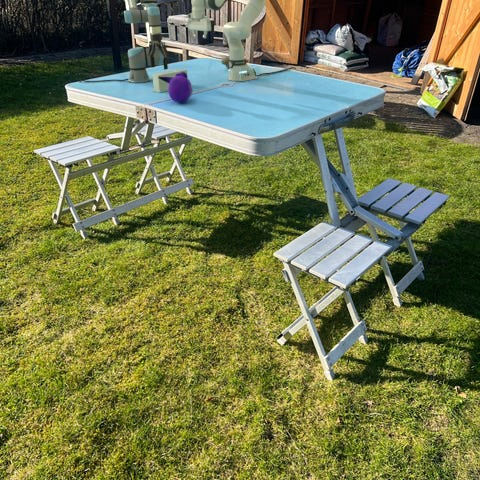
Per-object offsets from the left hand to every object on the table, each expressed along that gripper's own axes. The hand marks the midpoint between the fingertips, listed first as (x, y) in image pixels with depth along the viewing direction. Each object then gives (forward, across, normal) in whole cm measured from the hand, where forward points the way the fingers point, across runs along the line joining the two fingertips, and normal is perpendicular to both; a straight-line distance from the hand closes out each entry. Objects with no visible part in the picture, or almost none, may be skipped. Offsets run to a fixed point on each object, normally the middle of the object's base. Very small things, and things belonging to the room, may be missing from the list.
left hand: (159, 68), depth 301 cm
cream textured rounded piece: (+14, +15, -88) cm, 90 cm away
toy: (+15, -30, +11) cm, 36 cm away
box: (+15, 0, -9) cm, 17 cm away
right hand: (-16, -5, -34) cm, 38 cm away
